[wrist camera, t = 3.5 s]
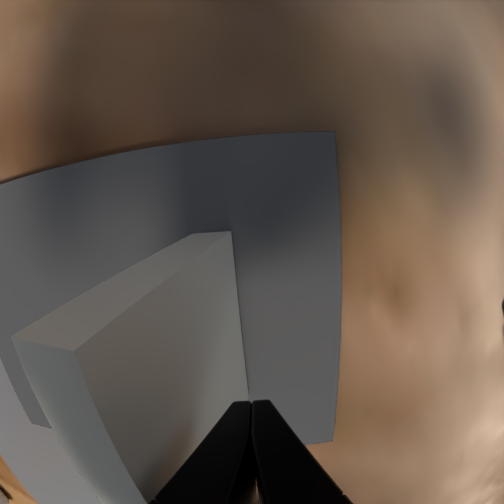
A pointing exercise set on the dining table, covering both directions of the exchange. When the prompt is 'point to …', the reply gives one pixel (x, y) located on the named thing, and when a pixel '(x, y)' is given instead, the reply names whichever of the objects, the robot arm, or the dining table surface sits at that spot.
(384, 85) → the dining table surface
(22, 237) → the mat
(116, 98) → the dining table surface
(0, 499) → the spatula
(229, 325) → the tile
